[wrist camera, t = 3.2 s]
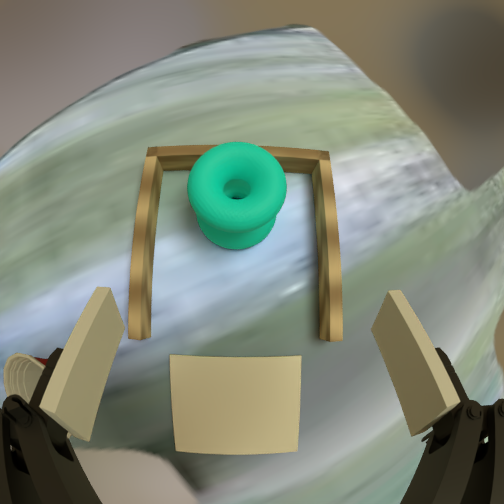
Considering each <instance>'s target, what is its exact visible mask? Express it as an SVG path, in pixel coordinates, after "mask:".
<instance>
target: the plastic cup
mask: <svg viewBox="0 0 504 504" xmlns="http://www.w3.org/2000/svg"><path fill="white" fill-rule="evenodd" d="M47 361H48V359H42V358H36V357H33V356H31V355H26V354H21V353H15V354H14V355H12V356H10V357H9V358H8V359H7V362H6V364H5V367H4V386H5V390H6V394H7V397H8V396H10V395H13V394H17V395H20V396H21V397H22V398H23V399H24V400H25V401H26V402H27V403H28V404H29V402H30V400H31V397H32V395H33V392H34V390H35V388H36V385H37V383H38V380H39V378H40V376H41V375H42V371H43V369H44V367H45V365H46V363H47ZM71 435H72V434H70V433H69V432H68V433H67V437H68V439H69V438H70V436H71Z"/></svg>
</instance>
